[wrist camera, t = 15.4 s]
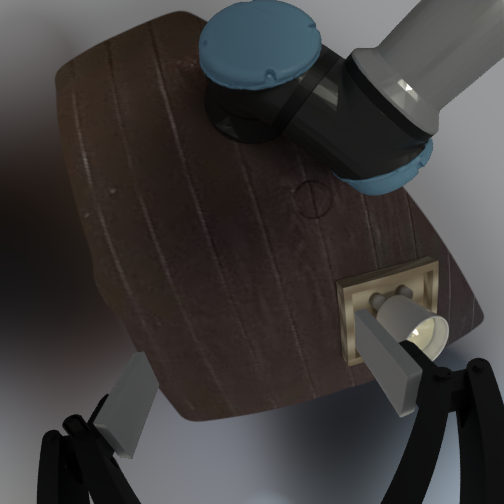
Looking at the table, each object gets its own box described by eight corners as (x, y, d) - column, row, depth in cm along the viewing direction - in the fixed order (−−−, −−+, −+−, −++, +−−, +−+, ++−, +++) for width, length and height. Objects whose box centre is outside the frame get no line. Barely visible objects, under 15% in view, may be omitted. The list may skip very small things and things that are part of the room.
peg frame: (335, 280, 48) (343, 288, 44) (427, 256, 48) (438, 260, 44) (342, 355, 52) (348, 366, 48) (425, 327, 52) (434, 335, 48)
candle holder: (406, 280, 45) (444, 304, 34) (419, 318, 47) (452, 345, 36) (365, 309, 46) (395, 341, 35) (380, 345, 48) (408, 379, 37)
